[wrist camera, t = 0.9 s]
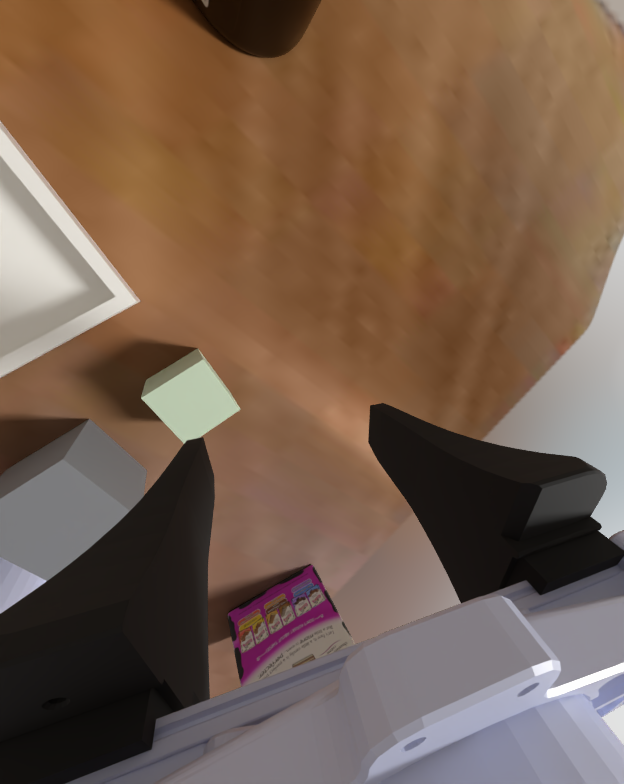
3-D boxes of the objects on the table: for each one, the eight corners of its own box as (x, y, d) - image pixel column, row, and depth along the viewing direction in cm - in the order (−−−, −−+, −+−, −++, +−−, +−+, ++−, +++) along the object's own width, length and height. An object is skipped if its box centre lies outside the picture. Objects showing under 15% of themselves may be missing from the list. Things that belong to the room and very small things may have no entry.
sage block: (183, 421, 24) (186, 446, 20) (146, 379, 22) (140, 398, 18) (229, 391, 25) (240, 409, 21) (197, 348, 23) (203, 359, 19)
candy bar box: (237, 636, 34) (283, 876, 20) (225, 611, 32) (268, 858, 18) (319, 586, 38) (406, 759, 24) (313, 561, 36) (404, 733, 22)
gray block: (78, 516, 22) (50, 582, 17) (7, 468, 20) (-51, 531, 14) (147, 470, 24) (140, 518, 19) (89, 418, 21) (63, 459, 16)
